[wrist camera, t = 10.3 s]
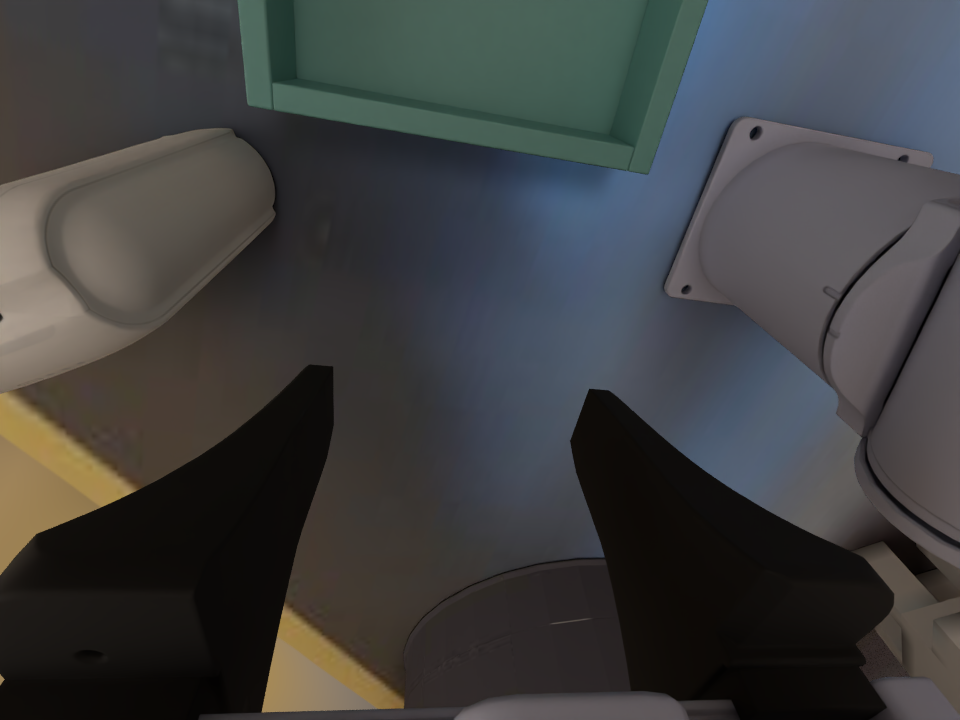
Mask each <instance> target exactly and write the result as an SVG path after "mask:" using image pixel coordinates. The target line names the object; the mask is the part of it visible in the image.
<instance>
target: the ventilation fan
mask: <svg viewBox="0 0 960 720" xmlns="http://www.w3.org/2000/svg"><path fill="white" fill-rule="evenodd" d="M404 668H405V670H406V682H405V703H404V709H408V708H444V707H467V706H470V705H472V704H475V703H477V702H480V701H482V700H485V699H487V698H493V697H500V696H507V695H514V694H544V693H585V692H627V691H631V689H630V682H629V675H628V668H627V662H626V656H625V651H624V645H623V640H622V634H621V628H620V623H619V618H618V613H617V608H616V604H615V599H614V594H613V589H612V585H611V581H610V576H609V572H608V568H607V564H606V559H605V558H597V559H573V560H565V561H558V562H551V563H543V564H538V565H534V566H530V567H526V568H522V569H518V570H514V571H510V572H506V573H503V574H500V575H497V576H495V577H492V578H490V579H487V580H485V581H482V582H479V583H477V584H474V585H472V586H470V587H468V588H466V589H464V590H462V591H461V592H459V593H457V594H455V595H454V596H452V597H450V598H448V599H446V600H445V601H443V602H442V603H441V604H439V605H438V606H437V607H436V608H435V609H433V610H432V611H431V612H430V613H428V614H427V615H426V616H425V617H423V619H422V620H421V621H420V623H419V624H418V625H417V627H416V628H415V629H414V630H413V632H412V633H411V634H410V636H409V639H408V641H407V644H406V647H405V650H404Z"/></svg>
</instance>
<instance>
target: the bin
mask: <svg viewBox="0 0 960 720" xmlns="http://www.w3.org/2000/svg"><path fill="white" fill-rule="evenodd" d="M707 3H708V0H238V10H239V20H240V31H241V41H242V52H243V62H244V73H245V83H246V94H247V103H248V105H249V106H251V107H256V108H262V109H268V110H273V109H274V110H276V111H279V112H285V113H291V114H297V115H303V116H309V117H314V118H320V119H326V120H332V121H338V122H344V123H350V124H355V125H361V126H367V127H373V128H379V129H385V130H390V131H396V132H402V133H408V134H414V135H420V136H425V137H431V138H437V139H443V140H449V141H455V142H461V143H466V144H472V145H478V146H484V147H490V148H496V149H501V150H507V151H513V152H519V153H525V154H531V155H537V156H542V157H548V158H554V159H560V160H566V161H572V162H577V163H583V164H589V165H595V166H601V167H607V168H613V169H618V170H624V171H626V170H627V171H630V172H636V173H641V174H649V171H650V168H651V165H652V163H653V160H654V157H655V154H656V151H657V148H658V145H659V142H660V139H661V136H662V134H663V131H664V128H665V125H666V122H667V119H668V116H669V113H670V110H671V107H672V105H673V102H674V99H675V96H676V93H677V90H678V87H679V84H680V81H681V78H682V75H683V73H684V70H685V67H686V64H687V61H688V58H689V55H690V52H691V49H692V46H693V44H694V41H695V38H696V35H697V32H698V29H699V26H700V23H701V20H702V17H703V14H704V12H705V9H706V6H707Z"/></svg>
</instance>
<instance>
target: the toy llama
mask: <svg viewBox="0 0 960 720" xmlns="http://www.w3.org/2000/svg"><path fill="white" fill-rule="evenodd" d="M916 546H917V547H918V549H919V550H920V551H921V552H922V553H923V554H924V555H925V556H926V557H927V558H928V559H929V560H930V561H931V562H932V563H933V564H934V565H935V566H936V567H937V568H938V569H935V570H931V571H928V572H925V573H922V574H918V575H916V577H915V576H914V575H913V574H912V573H911V572H910V571H909V569H908V568H907V567H906V566H905V565H904V564H903V563H902V562H901V561H900V560H899V558H898V557H897V556H896V555H895V554H894V553H893V552H892V551H891V550H890V549H889V547H888V546H887V545H886V544H885V543H884V542H883V541H881V542H878V543H875V544H872V545H869V546H866V547H863V548H860V549H857V550H854V551H851V552H853V553H856V554H858V555H860V556H862V557H864V558H865V559H866V560H867V561H868V563H869V564H870V565H871V566H872V567H873V569H874V570H875V571H876V572H877V573H878V575H879V576H880V577H881V578H882V579H883V580H884V582H885V583H886V584H887V585H888V586H889V588H890V589H891V590H892V591H893V593H894V606H893V608H892V610H891V612H890V613H889V615H888V616H887V617H886V618H885V619H884V620H883V621H882V622H881V623H879V624H878V625H877V626H876V627H875V628H874V629H875V630H876V632H877V633H878V634H879V635H880V637H881V638H882V639H883V641H884V642H885V643H886V645H887V646H888V647H889V649H890V650H891V651H892V653H893V654H894V655H895V657H896V658H897V659H898V661H899V662H900V663H901V665H902V666H903V667H904V669H905V670H906V671H907V673H908V674H909V675H910V677H927V678H930V679H931V680H932V681H933V682H934V684H935V685H936V686H937V687H938V689H939V690H940V691H941V692H942V694H943V695H944V696H945V697H946V699H947V700H948V701H949V702H950V704H951V705H952V706H953V707H954V709H955V710H956V711H957V712H958V714H959V715H960V569H959V568H957V567H955V566H953V565H952V564H950V563H948V562H946V561H944V560H943V559H941V558H939V557H937V556H935V555H934V554H932V553H930V552H929V551H927V550H926V549H924V548H923V547H921V546H920V545H918V544H917V543H916Z"/></svg>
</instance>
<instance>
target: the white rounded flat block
mask: <svg viewBox="0 0 960 720" xmlns="http://www.w3.org/2000/svg"><path fill="white" fill-rule="evenodd" d="M274 200H275V187H274V182H273V178H272V175H271V173H270V170H269V168H268V166H267V165H266V163H265V161H264V160H263V158H262V157H261V156H260V154H259V153H258V152H257V151H256V150H255V149H254V148H253V147H252V146H251V145H249V144H248V143H247V142H246V141H244V140H243V139H241V138H237V137H236V136H235V134H234V131H233V130H232V129H230V128H212V129H199V130H193V131H188V132H184V133H180V134H176V135H172V136H163V137H161V138H160V139H156V140H153V141H149V142H146V143H142V144H139V145H135V146H132V147H128V148H125V149H122V150H118V151H115V152H112V153H109V154H105V155H102V156H99V157H95V158H92V159H89V160H85V161H82V162H79V163H75V164H72V165H69V166H65V167H62V168H59V169H55V170H52V171H48V172H45V173H41V174H38V175H34V176H31V177H27V178H24V179H20V180H17V181H13V182H10V183H6V184H3V185H0V394H1V393H4V392H8V391H11V390H14V389H17V388H21V387H24V386H27V385H30V384H33V383H36V382H39V381H42V380H45V379H48V378H51V377H54V376H57V375H59V374H62V373H64V372H67V371H70V370H73V369H75V368H78V367H81V366H83V365H86V364H89V363H91V362H94V361H96V360H99V359H101V358H103V357H106V356H108V355H110V354H113V353H115V352H117V351H119V350H121V349H123V348H125V347H127V346H129V345H131V344H133V343H135V342H136V341H138V340H140V339H142V338H143V337H145V336H146V335H148V334H149V333H151V332H153V331H154V330H156V329H157V328H159V327H160V326H162V325H163V324H164V323H165V322H167V321H168V320H169V319H170V318H171V317H172V316H173V315H174V314H176V313H177V312H178V311H179V310H180V309H181V308H182V307H183V306H184V305H185V304H186V303H187V302H188V301H189V300H190V299H191V298H193V297H194V296H195V295H196V294H197V293H198V292H199V291H200V290H201V289H202V288H203V287H204V286H205V285H206V284H207V283H209V282H210V281H211V280H212V279H213V278H214V277H215V276H216V275H217V274H218V273H219V272H220V271H221V270H222V269H223V268H224V267H226V266H227V265H228V264H229V263H230V262H231V261H232V260H233V259H234V258H235V257H236V256H237V255H238V254H239V253H240V252H241V251H242V250H243V249H244V248H245V247H246V246H247V245H248V244H250V243H251V242H252V241H253V240H254V239H255V238H256V237H257V236H258V235H259V234H260V233H261V232H262V231H263V230H264V229H265V228H266V227H267V226H268V225H269V224H270V223H271V222H272V221H273V219H274V217H275V215H276V213H275V211H274V210H273V207H272V206H273V204H274Z"/></svg>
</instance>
